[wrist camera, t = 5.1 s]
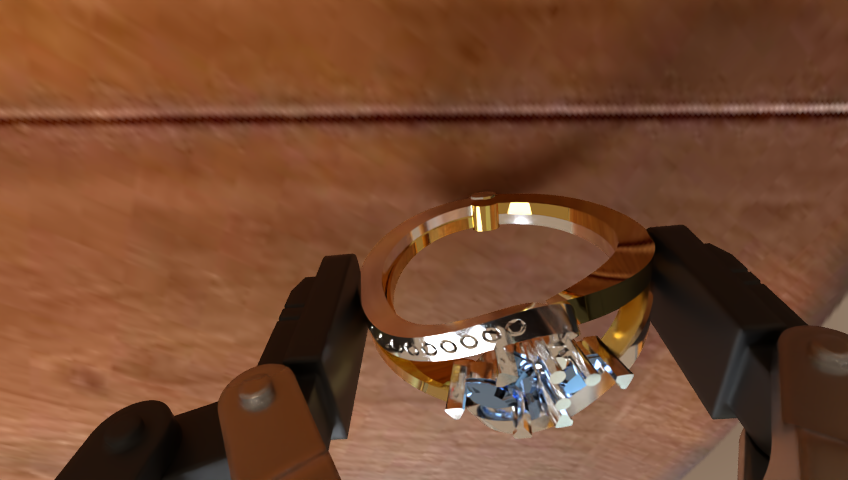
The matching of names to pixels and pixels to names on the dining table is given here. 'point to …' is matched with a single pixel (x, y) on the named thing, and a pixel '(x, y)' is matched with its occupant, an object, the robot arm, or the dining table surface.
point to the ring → (518, 317)
